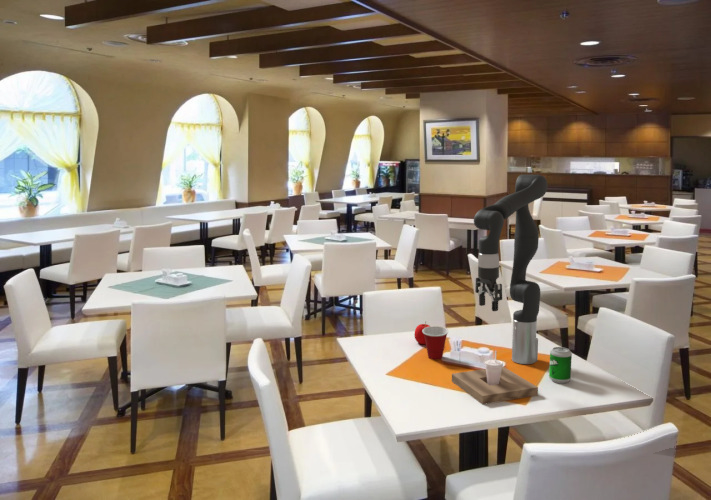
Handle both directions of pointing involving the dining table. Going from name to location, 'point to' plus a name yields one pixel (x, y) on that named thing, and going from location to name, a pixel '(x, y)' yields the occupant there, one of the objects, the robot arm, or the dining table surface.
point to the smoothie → (493, 371)
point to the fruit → (420, 333)
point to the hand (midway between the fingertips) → (488, 308)
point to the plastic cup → (435, 341)
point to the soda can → (560, 365)
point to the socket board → (494, 386)
